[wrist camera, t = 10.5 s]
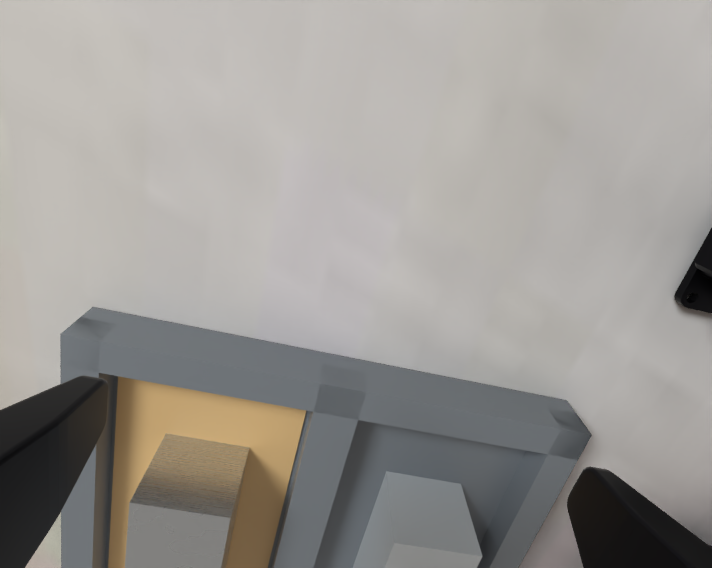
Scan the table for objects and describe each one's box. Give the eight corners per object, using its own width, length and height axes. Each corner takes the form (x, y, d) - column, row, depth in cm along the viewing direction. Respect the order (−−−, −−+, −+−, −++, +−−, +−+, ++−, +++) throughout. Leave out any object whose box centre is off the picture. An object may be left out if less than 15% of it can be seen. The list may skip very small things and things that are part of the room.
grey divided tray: (566, 400, 23) (622, 478, 18) (439, 651, 31) (456, 749, 26) (92, 306, 20) (18, 369, 16) (84, 606, 28) (33, 707, 23)
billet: (249, 447, 22) (230, 518, 18) (223, 582, 26) (202, 663, 22) (166, 433, 22) (129, 502, 18) (151, 572, 25) (118, 653, 22)
